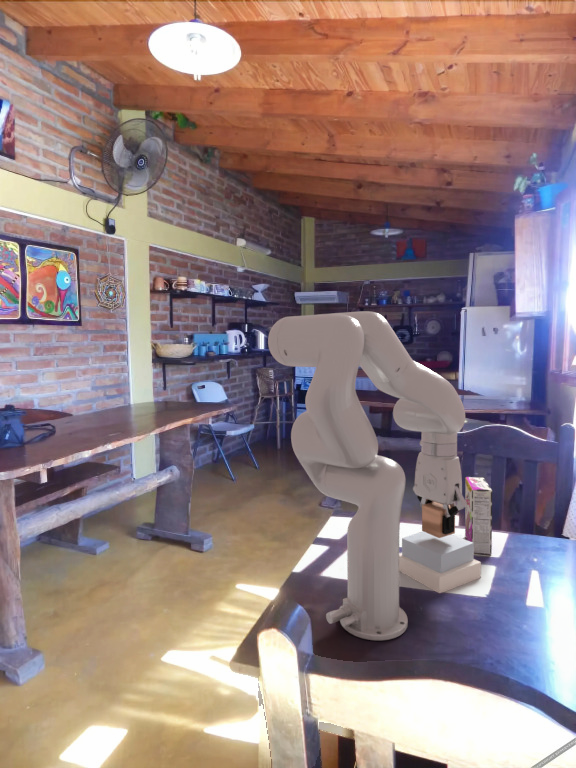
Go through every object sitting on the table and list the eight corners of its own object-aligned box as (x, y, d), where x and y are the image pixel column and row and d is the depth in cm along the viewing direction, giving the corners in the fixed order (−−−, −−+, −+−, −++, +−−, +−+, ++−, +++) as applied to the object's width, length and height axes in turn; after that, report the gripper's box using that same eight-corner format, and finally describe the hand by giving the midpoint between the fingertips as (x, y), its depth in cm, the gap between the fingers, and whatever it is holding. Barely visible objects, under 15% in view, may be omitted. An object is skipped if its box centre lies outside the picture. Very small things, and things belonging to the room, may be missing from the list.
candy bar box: (463, 536, 131) (464, 476, 130) (483, 537, 130) (484, 477, 129) (470, 554, 120) (471, 488, 119) (492, 555, 119) (493, 489, 118)
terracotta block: (439, 538, 106) (439, 511, 106) (422, 530, 111) (422, 504, 110) (454, 533, 109) (455, 507, 108) (437, 526, 113) (437, 500, 113)
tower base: (439, 595, 102) (439, 577, 101) (395, 570, 113) (395, 554, 112) (480, 579, 108) (481, 562, 108) (435, 557, 119) (435, 541, 119)
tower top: (440, 573, 103) (441, 555, 102) (401, 555, 112) (402, 538, 112) (473, 560, 109) (473, 542, 109) (433, 543, 118) (434, 527, 118)
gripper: (399, 444, 113) (398, 520, 115) (458, 458, 99) (457, 545, 100) (422, 440, 117) (421, 514, 119) (482, 454, 103) (481, 537, 104)
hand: (438, 527), depth 110 cm, fingers closed on terracotta block, 4 cm apart
